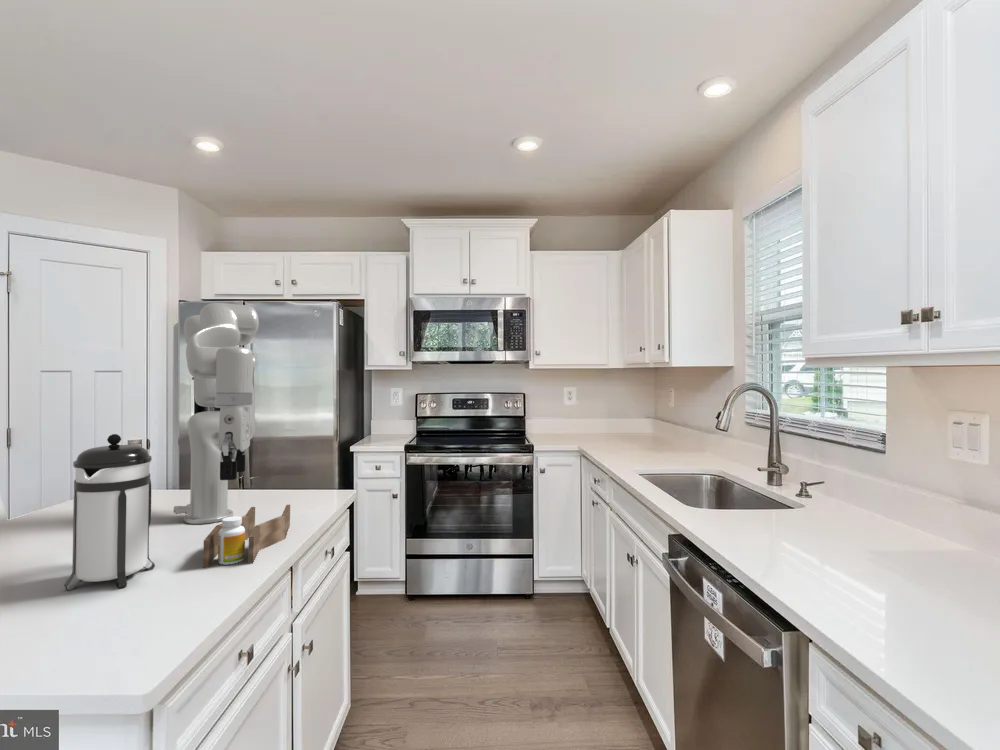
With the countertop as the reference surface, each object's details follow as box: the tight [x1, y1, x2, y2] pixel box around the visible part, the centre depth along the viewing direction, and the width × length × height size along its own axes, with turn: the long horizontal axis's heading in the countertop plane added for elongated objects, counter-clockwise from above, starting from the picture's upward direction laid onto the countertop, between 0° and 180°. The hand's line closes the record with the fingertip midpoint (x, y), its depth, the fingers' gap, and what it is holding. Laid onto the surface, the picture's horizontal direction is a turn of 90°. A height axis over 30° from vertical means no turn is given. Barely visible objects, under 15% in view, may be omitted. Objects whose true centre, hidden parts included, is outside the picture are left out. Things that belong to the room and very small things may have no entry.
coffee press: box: [63, 433, 156, 591], centre depth 104 cm, size 17×16×30 cm
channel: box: [202, 504, 291, 569], centre depth 124 cm, size 15×28×6 cm, turn 18°
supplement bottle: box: [217, 515, 246, 566], centre depth 113 cm, size 5×5×10 cm
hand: (233, 475), depth 113 cm, fingers open, 9 cm apart
